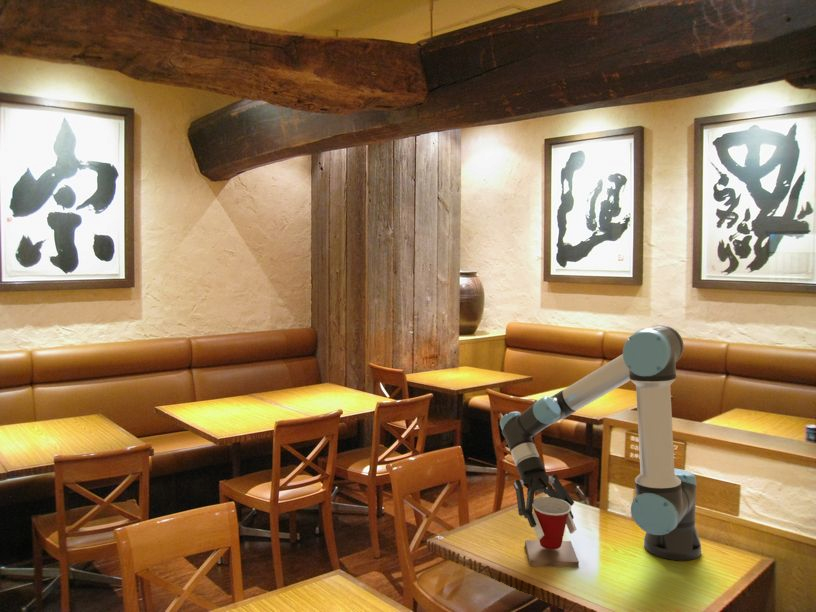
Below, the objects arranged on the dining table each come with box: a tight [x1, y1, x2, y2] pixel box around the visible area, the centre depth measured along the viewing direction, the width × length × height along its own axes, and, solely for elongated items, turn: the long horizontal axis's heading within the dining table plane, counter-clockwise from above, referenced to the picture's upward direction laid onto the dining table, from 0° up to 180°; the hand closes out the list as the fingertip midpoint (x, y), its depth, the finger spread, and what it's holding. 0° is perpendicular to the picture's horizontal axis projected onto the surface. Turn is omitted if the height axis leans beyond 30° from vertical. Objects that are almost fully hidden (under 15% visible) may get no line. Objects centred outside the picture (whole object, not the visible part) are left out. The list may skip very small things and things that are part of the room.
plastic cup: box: [532, 496, 572, 549], centre depth 188 cm, size 11×11×12 cm
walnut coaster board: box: [524, 539, 580, 568], centre depth 189 cm, size 13×13×2 cm
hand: (557, 534), depth 185 cm, fingers closed on plastic cup, 10 cm apart
